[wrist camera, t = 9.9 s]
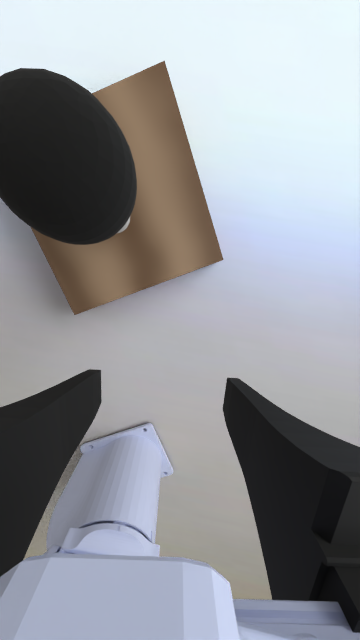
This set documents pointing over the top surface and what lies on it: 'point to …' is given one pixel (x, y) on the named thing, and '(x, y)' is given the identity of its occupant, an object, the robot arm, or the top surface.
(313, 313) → the top surface
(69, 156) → the light bulb
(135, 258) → the walnut plinth
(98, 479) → the robot arm
